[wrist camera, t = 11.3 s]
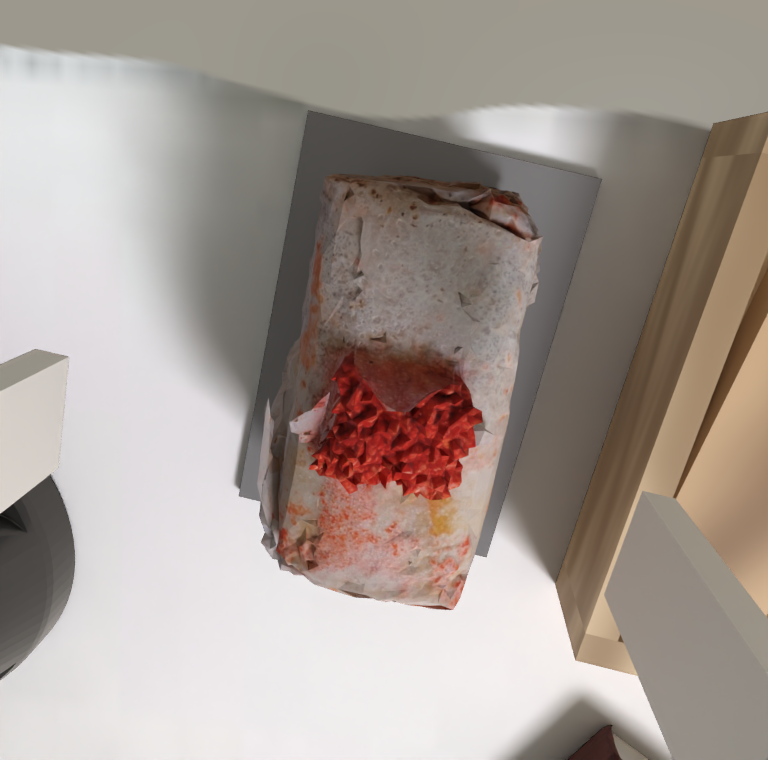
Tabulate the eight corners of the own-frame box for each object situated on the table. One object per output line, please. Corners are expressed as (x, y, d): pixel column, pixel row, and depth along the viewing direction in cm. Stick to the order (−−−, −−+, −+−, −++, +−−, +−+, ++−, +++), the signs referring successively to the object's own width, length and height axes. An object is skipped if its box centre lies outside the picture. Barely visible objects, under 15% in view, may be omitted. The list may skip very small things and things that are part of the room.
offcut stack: (597, 547, 30) (623, 611, 25) (723, 193, 25) (782, 196, 21) (739, 582, 30) (790, 653, 25) (891, 232, 25) (985, 243, 21)
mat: (241, 492, 30) (238, 496, 30) (310, 111, 26) (308, 110, 25) (485, 552, 30) (486, 557, 30) (599, 178, 26) (601, 179, 25)
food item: (473, 520, 29) (485, 681, 20) (288, 490, 30) (214, 634, 20) (536, 189, 26) (588, 194, 16) (322, 159, 26) (251, 147, 16)
